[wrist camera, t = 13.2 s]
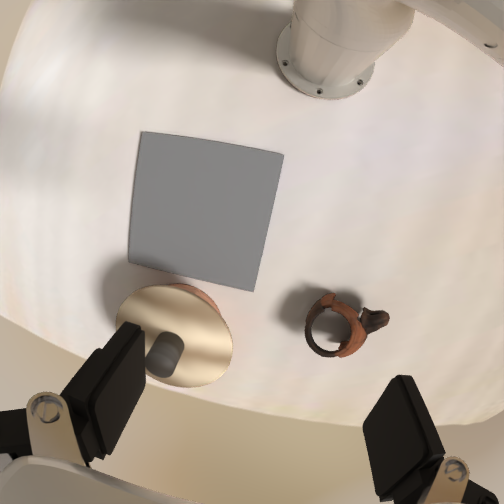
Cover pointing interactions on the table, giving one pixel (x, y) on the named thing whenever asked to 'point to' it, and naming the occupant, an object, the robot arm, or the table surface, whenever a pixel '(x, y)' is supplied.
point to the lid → (179, 335)
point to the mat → (202, 208)
